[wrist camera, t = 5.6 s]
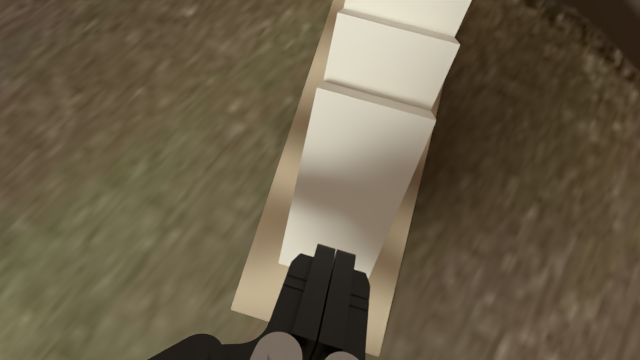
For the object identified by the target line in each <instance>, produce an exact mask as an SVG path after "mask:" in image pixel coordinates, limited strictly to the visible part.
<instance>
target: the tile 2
mask: <svg viewBox="0 0 640 360" xmlns="http://www.w3.org/2000/svg"><path fill="white" fill-rule="evenodd" d="M459 47H460V44H459V42H458V41H457V40H456V39H455V37H452V36H448V35H444V34H440V33H436V32H432V31H429V30H425V29H421V28H417V27H413V26H409V25H406V24H402V23H398V22H394V21H390V20H387V19H383V18H379V17H375V16H371V15H367V14H364V13H360V12H356V11H352V10H348V9H344V8H343V9H342V10H340V11H339V12H338V13H337V18H336V22H335V27H334V32H333V37H332V41H331V46H330V51H329V56H328V61H327V65H326V70H325V75H324V80H323V81H325V82H328V83H332V84H336V85H339V86H343V87H347V88H350V89H354V90H358V91H361V92H365V93H368V94H372V95H376V96H379V97H383V98H387V99H390V100H394V101H398V102H401V103H405V104H408V105H412V106H416V107H419V108H423V109H427V110H430V111H431V109H432V107H433V104H434V102H435V100H436V98H437V96H438V93H439V91H440V89H441V87H442V84H443V82H444V80H445V78H446V76H447V73H448V71H449V69H450V67H451V64H452V62H453V60H454V58H455V56H456V53H457V51H458V49H459Z"/></svg>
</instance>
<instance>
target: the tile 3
mask: <svg viewBox="0 0 640 360" xmlns="http://www.w3.org/2000/svg"><path fill="white" fill-rule="evenodd" d="M471 1H472V0H345V3H344V9H348V10H352V11H356V12H360V13H364V14H367V15H371V16H375V17H379V18H383V19H387V20H390V21H394V22H398V23H402V24H406V25H409V26H413V27H417V28H421V29H425V30H429V31H432V32H436V33H440V34H444V35H448V36H452V37H455V35H456V33H457V31H458V29H459V26H460V24H461V22H462V20H463V18H464V16H465V14H466V11H467V9H468V7H469V5H470V3H471Z"/></svg>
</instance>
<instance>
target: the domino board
mask: <svg viewBox="0 0 640 360" xmlns="http://www.w3.org/2000/svg"><path fill="white" fill-rule="evenodd" d="M344 3H345V0H333V2H332V5H331V8H330V11H329V15H328V18H327V21H326V24H325V27H324V30H323V33H322V36H321V39H320V42H319V45H318V48H317V51H316V54H315V57H314V60H313V63H312V66H311V69H310V72H309V75H308V78H307V81H306V84H305V87H304V90H303V93H302V96H301V99H300V102H299V105H298V108H297V111H296V114H295V117H294V120H293V123H292V126H291V129H290V132H289V135H288V138H287V141H286V144H285V147H284V150H283V153H282V156H281V159H280V162H279V165H278V168H277V171H276V174H275V177H274V180H273V183H272V186H271V189H270V192H269V195H268V198H267V201H266V204H265V207H264V210H263V213H262V216H261V219H260V222H259V225H258V228H257V231H256V234H255V237H254V240H253V243H252V246H251V249H250V252H249V255H248V258H247V262H246V265H245V268H244V271H243V274H242V277H241V280H240V283H239V286H238V289H237V292H236V295H235V298H234V301H233V304H232V307H231V310H234V311H237V312H240V313H243V314H246V315H249V316H253V317H256V318H259V319H262V320H265V321H268V322H269V321H270V318H271V315H272V313H273V310H274V307H275V305H276V302H277V299H278V296H279V294H280V291H281V288H282V286H283V283H284V280H285V277H286V275H287V272H288V269H289V266H286V265H282V264H279V263H278V262H279V258H280V253H281V249H282V244H283V240H284V235H285V230H286V226H287V221H288V217H289V212H290V208H291V203H292V199H293V194H294V189H295V185H296V180H297V176H298V171H299V167H300V162H301V157H302V153H303V148H304V144H305V139H306V135H307V130H308V126H309V121H310V116H311V112H312V107H313V103H314V98H315V94H316V89H317V87H318V86H319V85H320V84H321V83H322V82H323V80H324V75H325V70H326V65H327V61H328V56H329V51H330V46H331V41H332V37H333V32H334V27H335V22H336V18H337V13H338V12H339V11H340V10H342V9H343V8H344ZM444 81H445V80H444ZM443 85H444V82H443V84H442V87H441V89H440V91H439V93H438V96H437V98H436V100H435V102H434V104H433V107H432V109H431V112H432V114H433V115H434V117H435V118H436V114H437V110H438V106H439V102H440V97H441V93H442V89H443ZM432 131H433V130H432ZM431 135H432V132H431V134H430V137H429V139H428V141H427V144H426V146H425V148H424V151H423V153H422V155H421V158H420V160H419V162H418V165H417V167H416V169H415V172H414V174H413V176H412V179H411V181H410V183H409V186H408V188H407V190H406V192H405V195H404V197H403V199H402V202H401V204H400V206H399V209H398V211H397V213H396V216H395V218H394V220H393V223H392V225H391V227H390V230H389V232H388V234H387V237H386V239H385V241H384V244H383V246H382V248H381V251H380V253H379V255H378V258H377V260H376V262H375V265H374V267H373V269H372V272H371V274H370V276H369V278H368V281H369V283H370V298H369V311H368V324H367V338H366V351H365V353H368V354H372V355H375V356H378V357H379V354H380V350H381V345H382V341H383V337H384V333H385V329H386V324H387V320H388V316H389V312H390V308H391V303H392V299H393V295H394V291H395V287H396V282H397V278H398V274H399V270H400V266H401V261H402V257H403V253H404V249H405V245H406V240H407V236H408V232H409V228H410V224H411V219H412V215H413V211H414V207H415V203H416V198H417V194H418V190H419V186H420V182H421V177H422V173H423V169H424V165H425V160H426V156H427V152H428V148H429V144H430V139H431Z"/></svg>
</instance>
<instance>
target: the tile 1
mask: <svg viewBox="0 0 640 360" xmlns="http://www.w3.org/2000/svg"><path fill="white" fill-rule="evenodd" d="M435 123H436V119H435V117H434V115H433V114H432V112H431V111H430V110H427V109H423V108H419V107H416V106H412V105H408V104H405V103H401V102H398V101H394V100H390V99H387V98H383V97H379V96H376V95H372V94H368V93H365V92H361V91H358V90H354V89H350V88H347V87H343V86H339V85H336V84H332V83H328V82H325V81H323V82H322V83H321V84H320V85H319V86H318V87H317V89H316V94H315V98H314V103H313V107H312V112H311V116H310V121H309V126H308V130H307V135H306V139H305V144H304V148H303V153H302V157H301V162H300V167H299V171H298V176H297V180H296V185H295V189H294V194H293V199H292V203H291V208H290V212H289V217H288V221H287V226H286V230H285V235H284V240H283V244H282V249H281V253H280V258H279V262H278V263H279V264H282V265H286V266H290V264H291V262H292V261H293V260H294V259H295V258H296V257H297V256H298V255H299V254H300V253H302V254H305V255H309V256H312V257H314V254H315V251H316V248H317V244H322V245H325V246H328V247H332V248H335V249H336V251H337V249H338V250H342V251H345V252H348V253H352V254H355V255H356V260H355V267H354V269H355V270H358V271H361V272H365V273H366V275H367V278H369V276H370V274H371V272H372V269H373V267H374V265H375V262H376V260H377V258H378V255H379V253H380V251H381V248H382V246H383V244H384V241H385V239H386V237H387V234H388V232H389V230H390V227H391V225H392V223H393V220H394V218H395V216H396V213H397V211H398V209H399V206H400V204H401V202H402V199H403V197H404V195H405V192H406V190H407V188H408V186H409V183H410V181H411V179H412V176H413V174H414V172H415V169H416V167H417V165H418V162H419V160H420V158H421V155H422V153H423V151H424V148H425V146H426V144H427V141H428V139H429V137H430V134H431V132H432V130H433V127H434V125H435ZM336 251H335V253H336Z"/></svg>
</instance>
